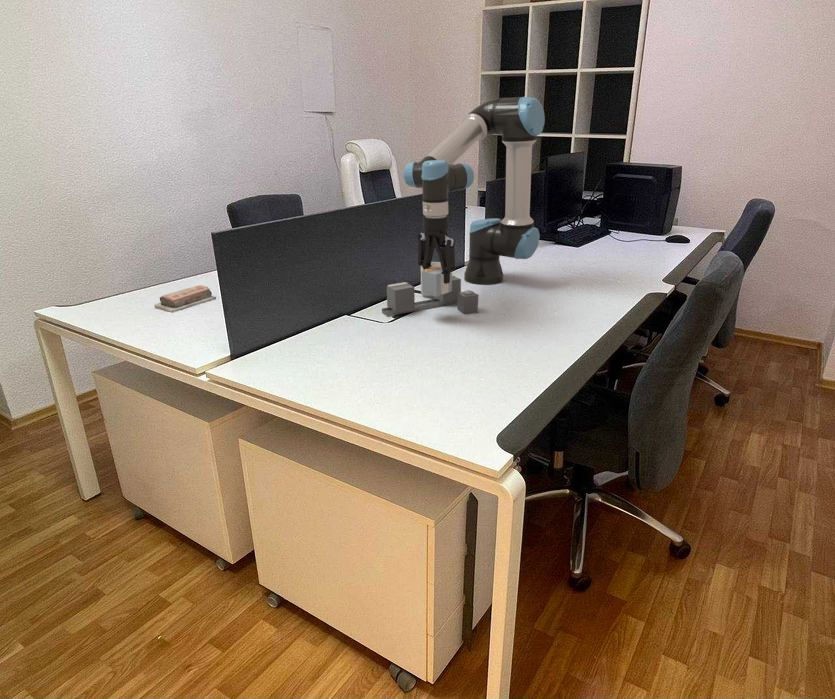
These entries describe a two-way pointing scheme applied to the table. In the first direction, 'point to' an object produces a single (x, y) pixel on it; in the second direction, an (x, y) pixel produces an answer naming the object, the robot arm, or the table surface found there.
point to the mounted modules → (404, 297)
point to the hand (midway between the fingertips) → (436, 290)
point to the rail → (418, 306)
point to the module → (433, 281)
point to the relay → (467, 302)
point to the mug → (433, 264)
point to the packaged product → (185, 299)
